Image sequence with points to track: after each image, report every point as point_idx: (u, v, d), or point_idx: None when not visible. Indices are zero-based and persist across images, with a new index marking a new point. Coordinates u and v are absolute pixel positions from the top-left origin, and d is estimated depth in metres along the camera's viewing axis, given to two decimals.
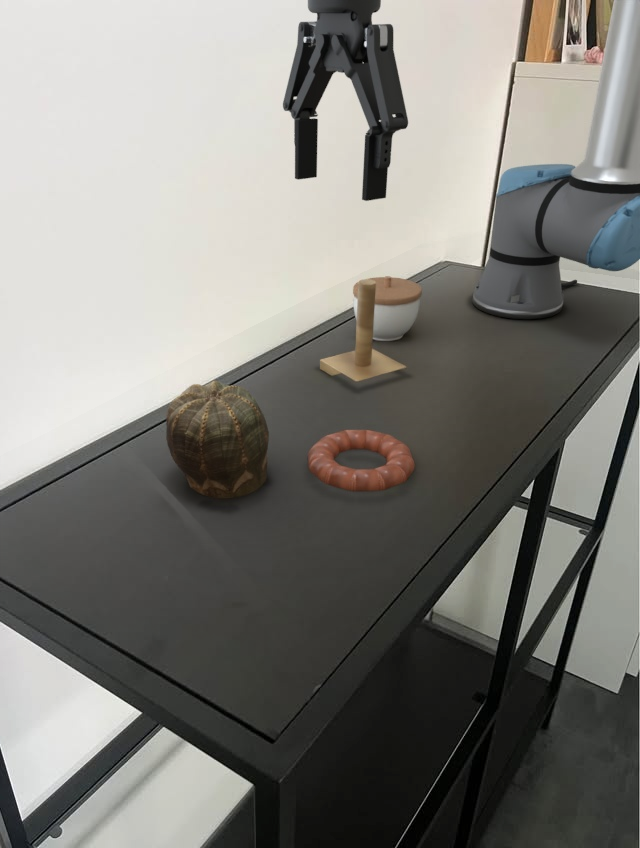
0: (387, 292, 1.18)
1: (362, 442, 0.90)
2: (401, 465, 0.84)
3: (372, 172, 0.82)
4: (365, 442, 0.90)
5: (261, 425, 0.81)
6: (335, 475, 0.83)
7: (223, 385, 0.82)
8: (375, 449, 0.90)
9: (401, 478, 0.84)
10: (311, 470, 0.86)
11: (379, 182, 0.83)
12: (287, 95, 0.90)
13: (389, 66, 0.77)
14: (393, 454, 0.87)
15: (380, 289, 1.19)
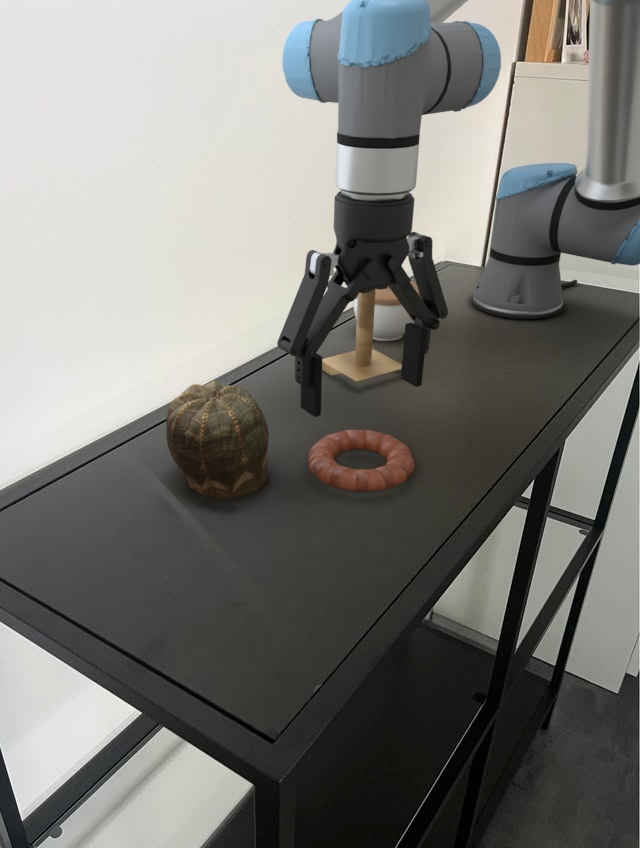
0: (386, 292, 1.18)
1: (362, 442, 0.90)
2: (401, 465, 0.84)
3: None
4: (365, 442, 0.90)
5: (261, 425, 0.81)
6: (335, 475, 0.83)
7: (223, 385, 0.82)
8: (375, 449, 0.90)
9: (401, 478, 0.84)
10: (311, 470, 0.86)
11: (309, 398, 0.79)
12: None
13: (306, 294, 0.73)
14: (393, 454, 0.87)
15: None
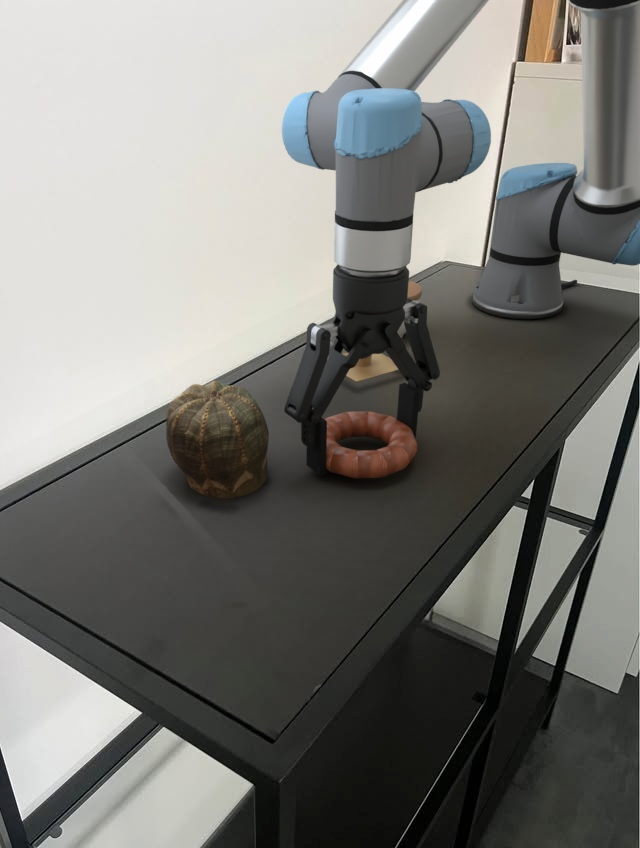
0: None
1: (364, 424, 0.89)
2: (403, 446, 0.83)
3: None
4: (367, 424, 0.89)
5: (261, 425, 0.81)
6: (337, 456, 0.82)
7: (223, 385, 0.82)
8: (377, 431, 0.89)
9: (403, 459, 0.83)
10: None
11: (315, 458, 0.83)
12: None
13: (309, 365, 0.77)
14: (395, 435, 0.86)
15: None
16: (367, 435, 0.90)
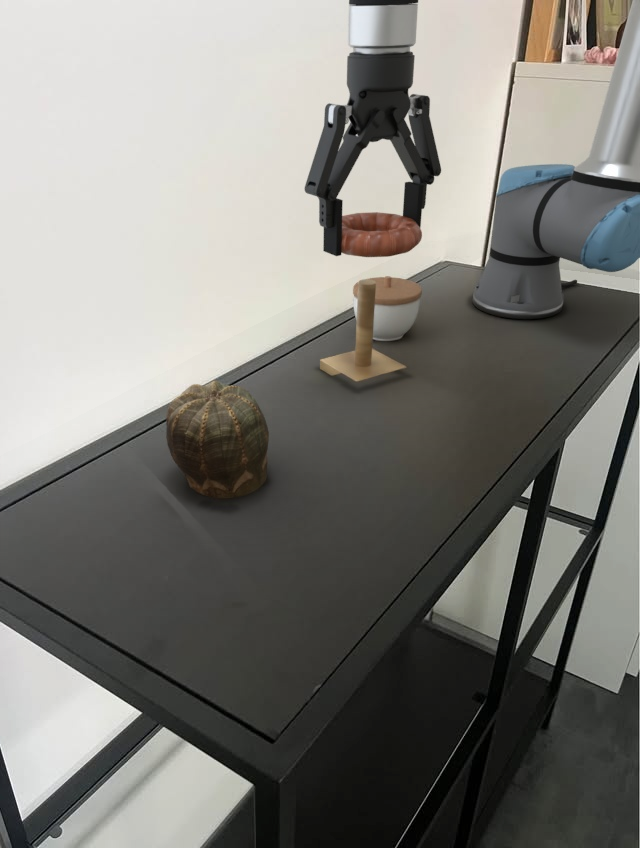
0: (387, 292, 1.18)
1: (373, 221, 0.99)
2: (410, 228, 0.93)
3: (326, 229, 0.93)
4: (376, 221, 0.99)
5: (261, 425, 0.81)
6: (351, 236, 0.92)
7: (223, 385, 0.82)
8: (385, 226, 0.99)
9: (410, 239, 0.93)
10: None
11: (331, 240, 0.93)
12: None
13: (326, 141, 0.87)
14: (402, 224, 0.96)
15: (380, 289, 1.19)
16: None
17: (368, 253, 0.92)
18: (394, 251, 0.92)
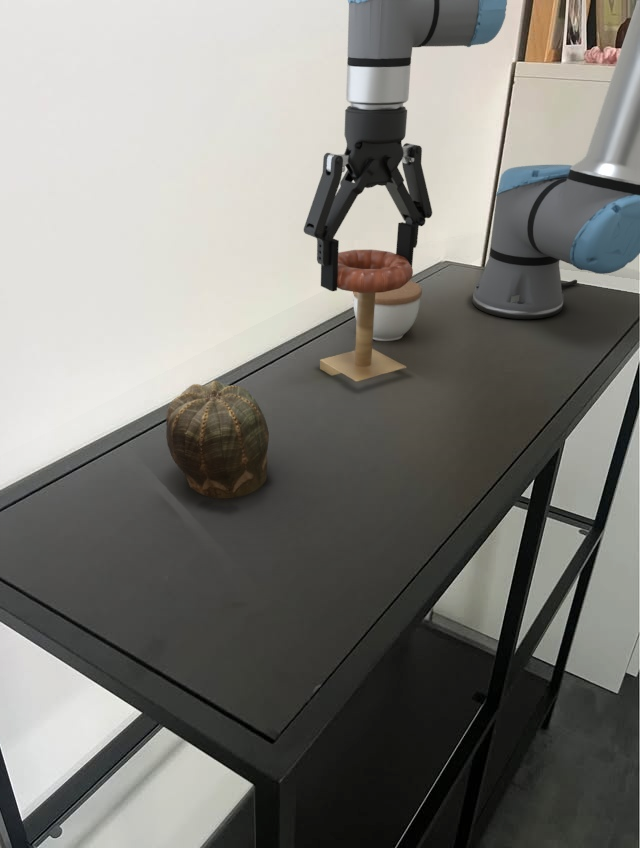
0: (386, 292, 1.18)
1: (368, 258, 1.06)
2: (401, 267, 1.01)
3: (324, 266, 1.01)
4: (371, 258, 1.06)
5: (261, 425, 0.81)
6: (346, 273, 1.00)
7: (223, 385, 0.82)
8: (379, 263, 1.06)
9: (401, 277, 1.00)
10: None
11: (328, 276, 1.00)
12: None
13: (324, 187, 0.94)
14: (394, 262, 1.03)
15: None
16: None
17: (362, 289, 0.99)
18: (386, 288, 0.99)
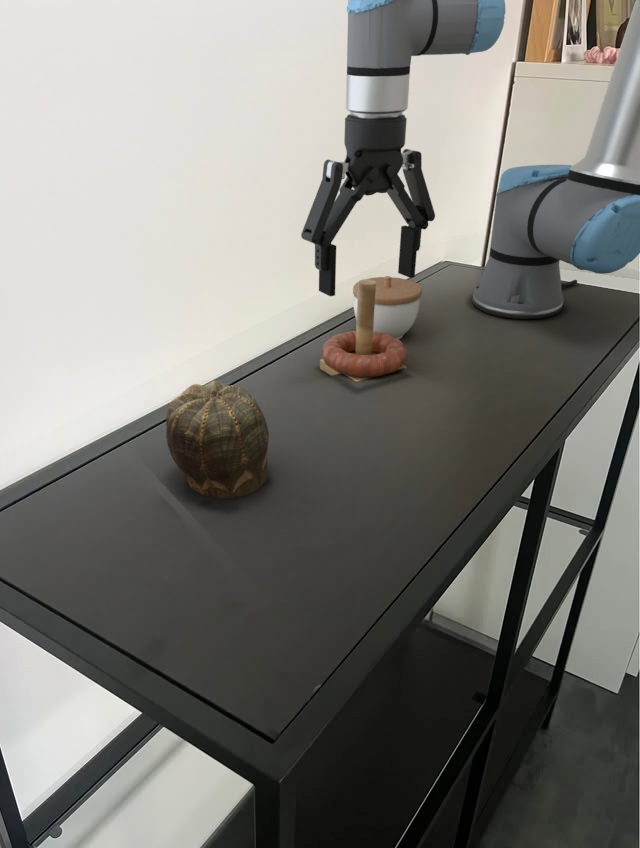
0: (386, 292, 1.18)
1: None
2: (396, 352, 1.07)
3: (321, 271, 1.01)
4: None
5: (261, 425, 0.81)
6: (344, 359, 1.06)
7: (223, 385, 0.82)
8: (376, 345, 1.12)
9: (396, 362, 1.06)
10: (325, 358, 1.09)
11: (326, 281, 1.01)
12: None
13: (324, 194, 0.94)
14: (390, 346, 1.09)
15: (380, 289, 1.19)
16: None
17: (359, 374, 1.06)
18: (382, 373, 1.06)
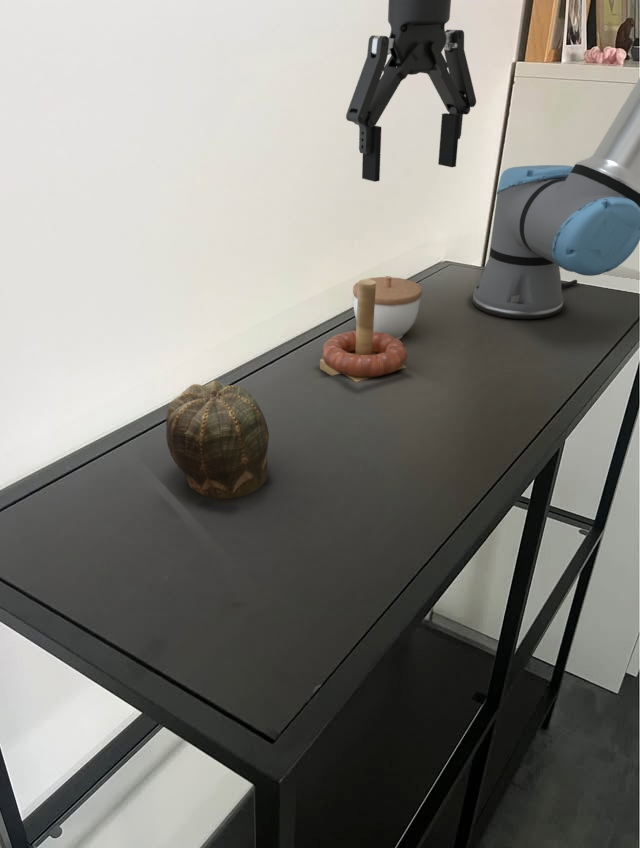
0: (386, 292, 1.18)
1: None
2: (396, 352, 1.07)
3: (365, 156, 1.00)
4: None
5: (261, 425, 0.81)
6: (344, 359, 1.06)
7: (223, 385, 0.82)
8: (376, 345, 1.12)
9: (396, 362, 1.06)
10: (325, 358, 1.09)
11: (370, 166, 1.00)
12: None
13: (369, 70, 0.93)
14: (390, 346, 1.09)
15: (380, 289, 1.19)
16: None
17: (359, 374, 1.06)
18: (382, 373, 1.06)
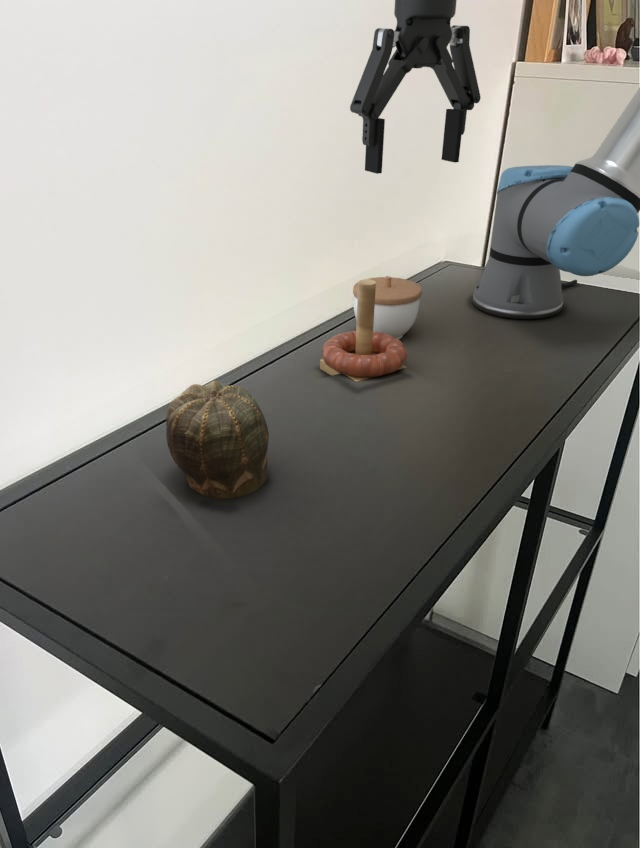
0: (387, 292, 1.18)
1: None
2: (396, 352, 1.07)
3: (368, 148, 1.01)
4: None
5: (261, 425, 0.81)
6: (344, 359, 1.06)
7: (223, 385, 0.82)
8: (376, 345, 1.12)
9: (396, 362, 1.06)
10: (325, 358, 1.09)
11: (373, 158, 1.01)
12: None
13: (374, 63, 0.94)
14: (390, 346, 1.09)
15: (380, 289, 1.19)
16: None
17: (359, 374, 1.06)
18: (382, 373, 1.06)
